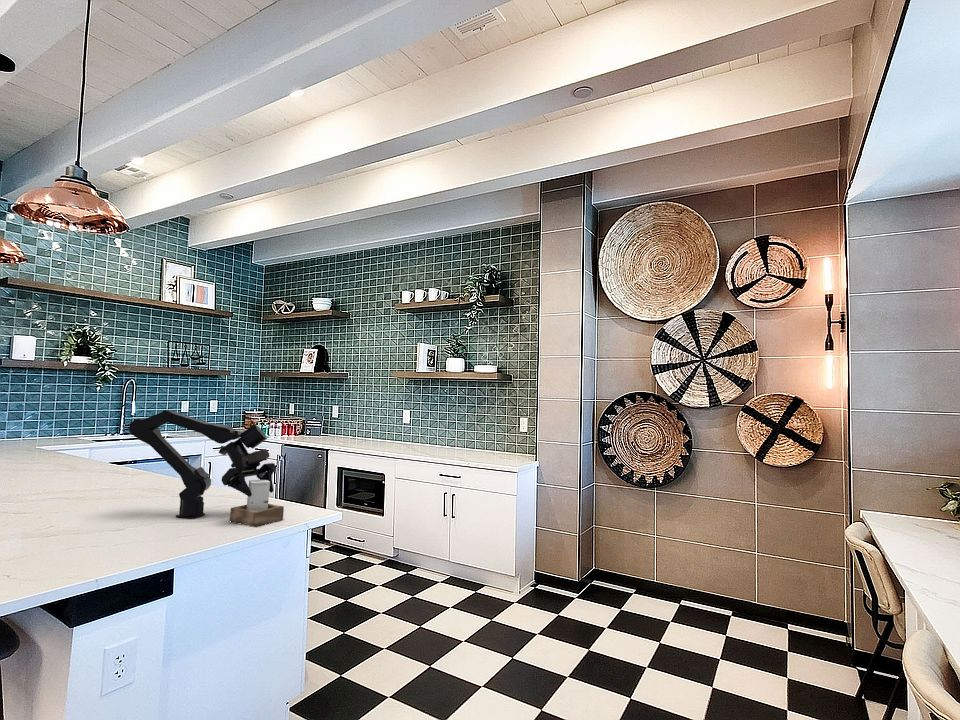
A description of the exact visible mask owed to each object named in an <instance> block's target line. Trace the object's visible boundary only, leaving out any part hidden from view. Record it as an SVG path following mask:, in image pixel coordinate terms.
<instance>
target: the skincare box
mask: <svg viewBox="0 0 960 720" xmlns="http://www.w3.org/2000/svg"><path fill="white" fill-rule="evenodd" d="M248 487H249V489H250V491H251V493H252V495H251V497H249V496H247V500H246V505H247V510H253V511H260V510H265V509H268V504H269V500H270V499H269V498H270V491H269V489H270V481H268V480H260V479H251V480H248Z"/></svg>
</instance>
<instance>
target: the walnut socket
mask: <svg viewBox="0 0 960 720" xmlns="http://www.w3.org/2000/svg"><path fill="white" fill-rule="evenodd" d="M284 509H285V508H284V505H283V506H282V505H278V504H272V503H268V509H265V510H260V511H253V510H247V504H244V505H243V504H242V505H239V506H233V507H230V511H229V512H230V514H229V522H230V521H231V522H230V523H232V522H236V523H235V524H237V523H241V524H240V525H242V524H245V525H244V526H247V525H250V526H249V527H252V526H254V527H253V528H258V527H257V526H259V527H262V526H265V524H266V525H270V524H273V522H274V523H277V521H278V522H280V520H281V521H283V520H284V512H285V510H284ZM269 523H270V524H269Z"/></svg>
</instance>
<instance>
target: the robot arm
mask: <svg viewBox="0 0 960 720" xmlns="http://www.w3.org/2000/svg"><path fill="white" fill-rule="evenodd" d="M168 423H169V424H172V425H174V426H177V427H181V428H184V429H187V430H190V431H193V432H196V433H199V434H201V435H203V436H205V437H206V438H208V439H209V440H211V441H212V442H215V443H216V444H219V445H220V444H226V445H221V446H220V449H219V451H218V454H219V455H220V454H221V455H222V456H226V455H227V456H228V458H229V460H230V461H231V462H232V463H231V465H230V466H231V467H230V468H228V470H227V471H226V472H225V473H224V474H223V475H222V476H221V482H222V484H223V486H227V487H230V488H232V489H234V490H236V491H238V492H240V493H242V494H243V495H246V497H248V496H249V497H251V495H252V493H251V491H250V489H249V484H248V483H247V481H246V478H247V477H252V476H255V477H256V479H257V480H268V481H270V489H269V493H273V492H274V491H275V490H274V484H273V477H272V476H273V474H274V473H275V472H276V470H277V466H276V464H275V463H273V462H268V463H263V464H261V462H263V461H267V460H268V458H269V457H270V453H269V451H268V449H266V448H262V449H260V450H256V451H253V452H250V453H249V451H248V450H247V449H250V448H251V449H252V450H253V449H255V448H256V447H257V446H259V445H260V444H262V443H263V442H265V441H266V440H268V436H267V435H266V433H265V431H264V430H262V429H261V428H260V426H258V425H257V424H256V423H253V424H251V425H250V427H248V428H246V429H245V430H244V431H239V430H235V429H234V428H233V427H232V426H230V425H227V424H222V423H211V422H207V421H204V420H201V419H198V418H195V417H192V416H189V415H186V414H183V413H181V412H178V411H175V410H174V409H166V410H162V411H161V412H159V413H157V414H154V415H151V416H147V417H142V418H137V419H134V420H132V421H131V422H130V424H129V425H128V432H129V433H130V434H131V435H132V436H133V437H134V438H136V439H138V440H139V441H141V442H143V443H145V444H147V445H149V446H150V447H151V448H152V449H153V451H155V452H156V453H157V454H158V455H159V456H160V457H161V458H162V459H163V461H165V462H166V463H167V464H168V465H169V466H170V467H171V468H172V469H173V470H174V471H175V472H176V473H177V474H178V475H179V476H180V478H181V480H182V483H183V485H184V487H185V488H184V489H183V490H181V492H179V494H178V496H179V514H177V515H175V518H182V519H196V518H199V517H202V516H205V515H206V513H205V512H204V508H205V501H204V493H205V491H208V490H209V489H210V487H211V485H212V479H211V477H210V475H211V474H210V473H208V472H206V470H205V469H204V468H203V466H199V467H198V468H196V467H194V466H192V464H190V463H189V462H188V461H187V460H186V459H185V458H184V457H183V455H181V454H180V453H179V452H178V451H177V449H176V448H174V446H172V445H171V443H170V442H169V441H167V440H166V439H165V438H164V437H163V435H162V433H161V430H160V428H159V427H161V426H163V425H166V424H168ZM228 442H229V443H228ZM260 465H261V467H259V466H260ZM258 467H259V468H258Z"/></svg>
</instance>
